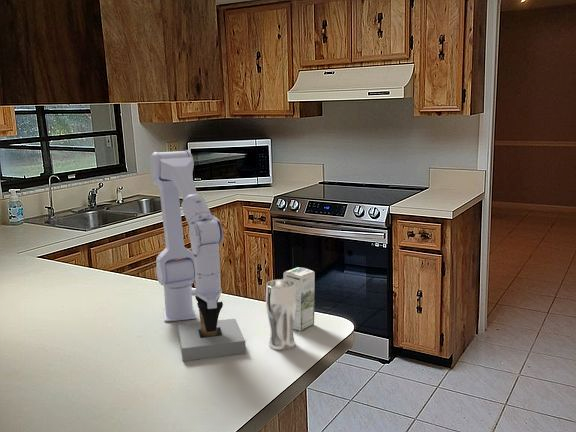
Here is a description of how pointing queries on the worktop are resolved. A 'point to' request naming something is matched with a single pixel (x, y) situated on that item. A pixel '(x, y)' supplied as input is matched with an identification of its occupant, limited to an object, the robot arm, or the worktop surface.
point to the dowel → (203, 329)
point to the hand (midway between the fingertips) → (210, 327)
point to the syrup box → (303, 296)
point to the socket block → (211, 341)
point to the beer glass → (281, 313)
